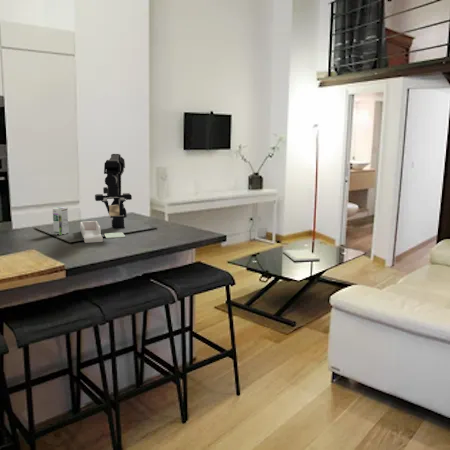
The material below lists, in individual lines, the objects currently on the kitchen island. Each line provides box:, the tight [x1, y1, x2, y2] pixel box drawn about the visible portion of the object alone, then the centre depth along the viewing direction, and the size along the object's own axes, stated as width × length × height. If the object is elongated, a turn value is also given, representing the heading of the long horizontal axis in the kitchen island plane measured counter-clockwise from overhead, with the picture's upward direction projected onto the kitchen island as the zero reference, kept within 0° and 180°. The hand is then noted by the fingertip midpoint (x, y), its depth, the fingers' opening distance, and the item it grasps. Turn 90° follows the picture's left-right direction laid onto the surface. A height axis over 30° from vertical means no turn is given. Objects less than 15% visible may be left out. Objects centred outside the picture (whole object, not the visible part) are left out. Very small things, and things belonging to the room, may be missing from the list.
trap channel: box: [80, 220, 104, 244], centre depth 251 cm, size 9×27×6 cm, turn 21°
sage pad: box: [103, 231, 126, 240], centre depth 254 cm, size 10×10×1 cm
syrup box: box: [52, 206, 69, 236], centre depth 254 cm, size 6×6×14 cm
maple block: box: [108, 204, 120, 217], centre depth 250 cm, size 5×5×5 cm
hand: (113, 212), depth 251 cm, fingers closed on maple block, 5 cm apart
